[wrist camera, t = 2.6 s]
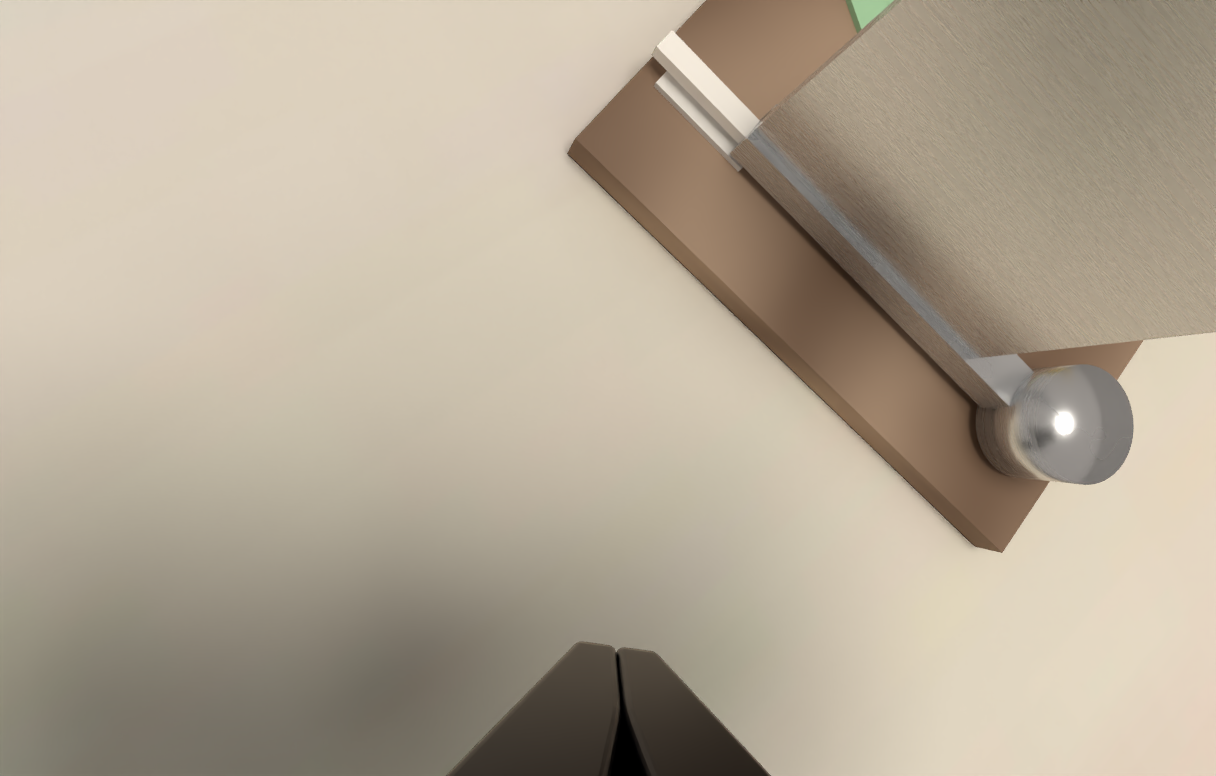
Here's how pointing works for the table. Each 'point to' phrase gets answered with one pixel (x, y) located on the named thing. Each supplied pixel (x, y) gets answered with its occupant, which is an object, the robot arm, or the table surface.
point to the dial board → (801, 255)
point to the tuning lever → (1008, 195)
